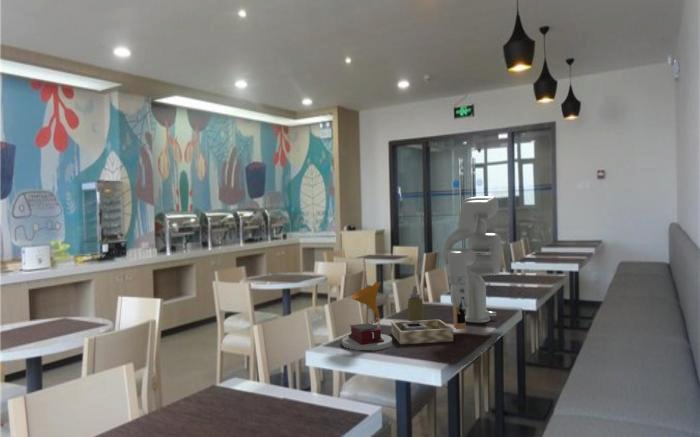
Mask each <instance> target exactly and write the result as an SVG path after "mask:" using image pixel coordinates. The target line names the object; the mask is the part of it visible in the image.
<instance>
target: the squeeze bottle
mask: <svg viewBox="0 0 700 437" xmlns="http://www.w3.org/2000/svg"><path fill="white" fill-rule="evenodd" d="M412 287H413V288H412V292H410V294H409V296H410V297H409V298H408V300H407V314H406V317H407V319H408V320H407V321H422V320H424V318H425V312H424V304H423V298H421V294H420V293H419V292H418V289H417V285H413V286H412Z"/></svg>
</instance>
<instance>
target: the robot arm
mask: <svg viewBox="0 0 700 437" xmlns="http://www.w3.org/2000/svg"><path fill="white" fill-rule="evenodd" d="M498 200H499V199H497V197H496V196H490V195H489V196H472V197H467V198H464V199H463V200H462V204H461V207H460V211H459V212H460V213H459V216H458V217H459V218H458V223H457V228H456V229H455V230H453V231H452V232H451V233H450V234H449V235H448V236H447V238H446V240H445V241H444V245H443V249H442V250H443V251H442V261H443V263H444V264H445V265H446V266H447V265H448V266H447V268H448V284H450V302H451V304H452V305H453V304H454V305H455V306H457V308H458V314H457V320H458V323H465V320H466V322H467V323H477V324H480V323H481V324H482V323H487V322H490V321H491V316H492V317H495V316H497V311H489V310H487V286H486V285H487V284H486V281H485V280H484V278H483V277H482V276H498V275H499V274H500V272H501V267H502V266H501V265H502V264H501V263H502V239H501V236H500V235H499V234H497V233H496V232H495V233H493V232H491V233H490V232H487V223H486V221H485V220H484V219H491V218H493V217H494V216H495V215H496V214H497V212H498V210H499V206H500V204H499V201H498ZM466 239H467V248H460V247H459V248H458V247H457V248H454V246H455V245H456V244H457V243H459V242H461V241H463V240H466ZM477 253H478V254H477ZM459 305H461V306H462V307H459ZM460 308H461V309H460Z"/></svg>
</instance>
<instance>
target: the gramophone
mask: <svg viewBox="0 0 700 437" xmlns="http://www.w3.org/2000/svg"><path fill="white" fill-rule="evenodd" d="M381 283H382V281H378V282H375V283H373V285H369V284H367V285H366V286H365V287H364V288H363V289H358V290H357V291H356V293H355V294H351V295H350V298H349V300H355V301H356V302H359V303H361V304H363V305H366V306H368V307H369V308H370V309H371V311H373V313H374V314H375V315H376V318H375V321H371V323H370V322H366V323H358V324H350V325H349V327H350V332H351V333H350V334H348V335H347V336H344V337H343V338H342V339H341V345H342V346H344V347H343V348H345V347H346V348H345V349H347V348H350V349H349V350H351V349H355V350H354V351H359V350H372V351H378V350H379V351H380V350H384V349H387V348H390V347H391V346H392V345H393V337H392V336H390V335H387V334H382V331H383V329H382V328H380V327H381V325H380V321H381V320H380V319H381V318H380V311H379V309H378V306H377V302H376V301H377V297H378V292H379V291H378V290H379V288H380V285H381ZM375 324H376V325H377V326H376V325H375Z"/></svg>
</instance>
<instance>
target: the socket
mask: <svg viewBox="0 0 700 437" xmlns="http://www.w3.org/2000/svg"><path fill="white" fill-rule="evenodd" d="M414 330H427V326H426V325H424V324H423V323H422V322H416V323H401V331H414Z"/></svg>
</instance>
